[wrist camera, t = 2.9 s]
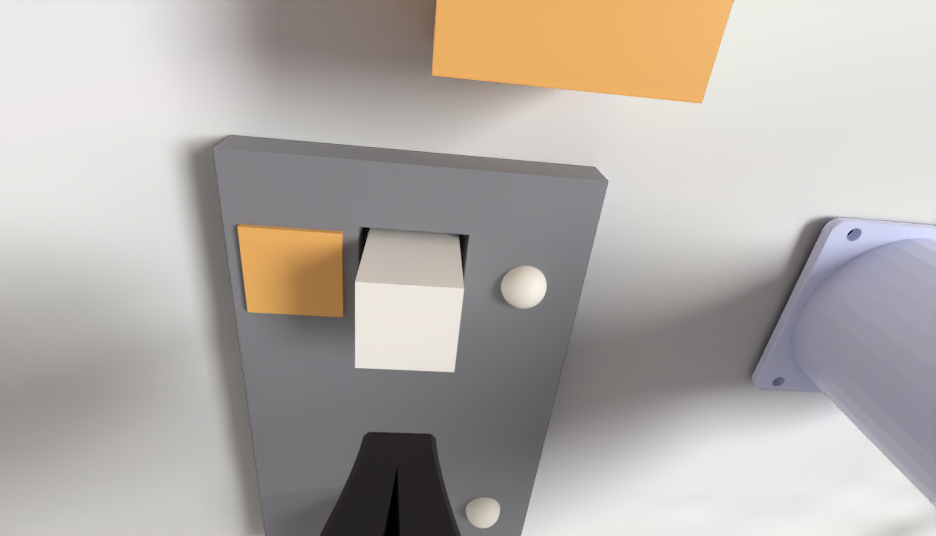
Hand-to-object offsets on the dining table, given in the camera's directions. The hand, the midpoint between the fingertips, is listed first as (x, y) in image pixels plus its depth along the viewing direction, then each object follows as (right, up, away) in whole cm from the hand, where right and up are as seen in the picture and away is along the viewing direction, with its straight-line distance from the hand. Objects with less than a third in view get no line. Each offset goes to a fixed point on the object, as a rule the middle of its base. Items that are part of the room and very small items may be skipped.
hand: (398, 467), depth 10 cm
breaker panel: (-1, -1, +11) cm, 11 cm away
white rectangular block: (-1, +4, +8) cm, 9 cm away
